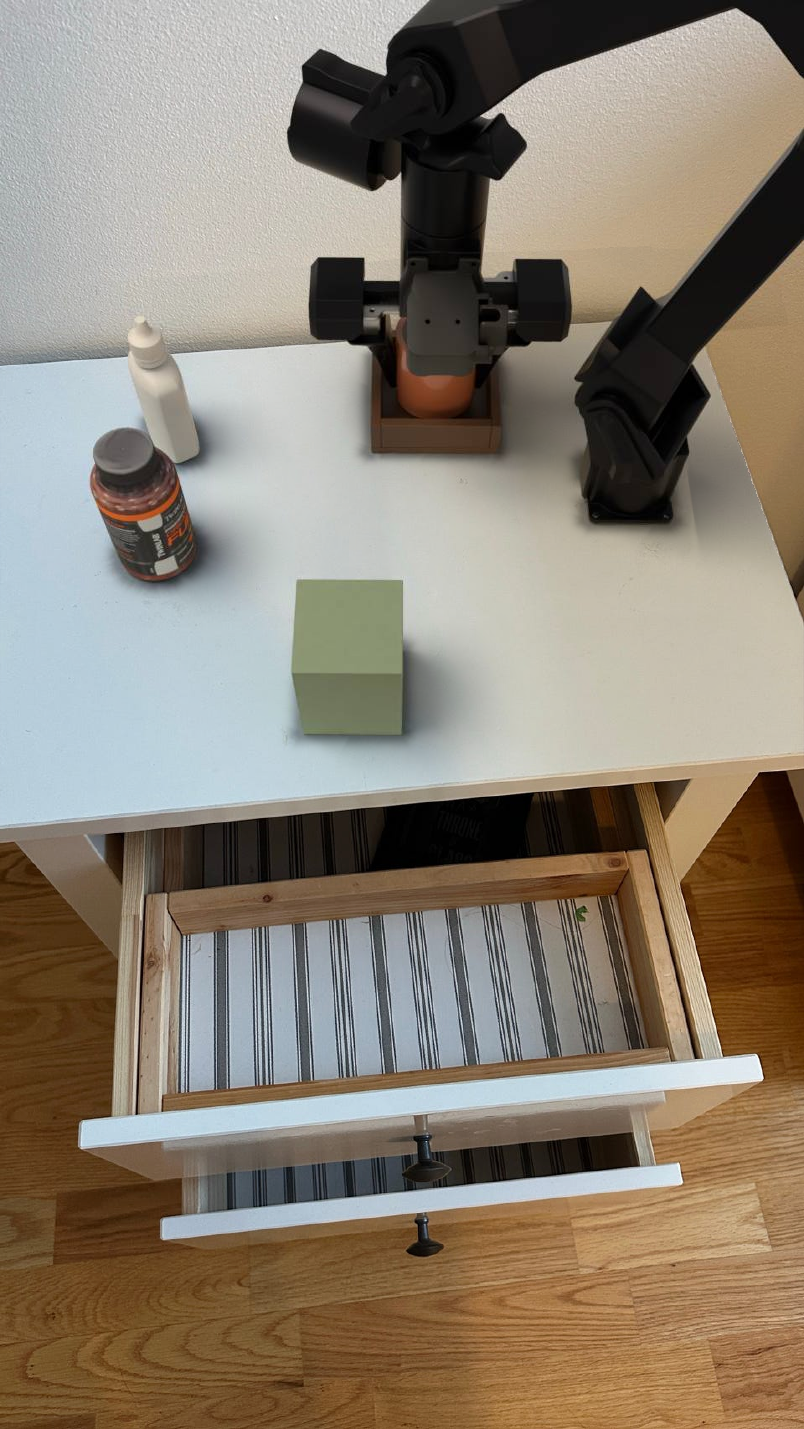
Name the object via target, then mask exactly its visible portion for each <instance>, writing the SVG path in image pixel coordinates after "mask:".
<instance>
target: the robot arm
mask: <svg viewBox="0 0 804 1429" xmlns="http://www.w3.org/2000/svg"><path fill="white" fill-rule="evenodd" d="M735 9H736V10H738V11H740V12H741V13H743V14H745V15H746V16H748V17H749V18H750V19H752V20H754V21H755V22H757V23H758V24H760V25H761V26H762V27H763V29H764V30H765V31H766V33H767V34H768V36H769V37H770V38H771V39H772V41H773V42H774V43H775V46H777V47H778V49H779V50H780V52H781V53H782V54H783V55H784V56H785V58H786V59H787V61H788V62H789V63H790V65H791V66H792V67H793V68H794V70H795V72H797V74H798V75H799V76H800V77H801V78H802V79H803V80H804V0H428V1H427V2H426V3H425V4H424V5H423V6H422V7H421V8H420V9H419V10H418V11H417V12H416V13H415V14H414V15H413V16H412V17H411V18H410V19H409V20H408V21H407V22H406V23H405V24H404V25H403V26H402V27H401V28H400V29H399V30H398V31H396V33H395V34H394V35H393V36H392V37H391V39H390V40H389V41H388V44H387V46H386V48H387V53H386V58H385V70H386V74H385V75H383V74H381V73H378V72H376V71H373V70H370V69H367V68H365V67H362V66H360V65H357V64H354V63H352V62H349V61H346V60H345V59H343V58H342V57H340V56H339V55H337V54H335V53H334V52H331V51H328V50H325V49H322V48H318V49H317V51H315V52H314V53H313V54H312V55H311V56H310V57H309V58H308V59H307V60H306V61H305V62H304V63H303V64H302V65H301V78H302V83H301V84H300V87H299V89H298V91H297V93H296V96H295V99H294V102H293V106H292V109H291V113H290V114H291V115H290V118H289V126H288V127H287V129H286V140H287V145H288V146H287V147H288V150H289V153H290V156H291V158H292V159H293V160H295V162H297V163H299V164H302V165H304V166H305V167H309V168H312V169H314V170H316V171H319V172H322V173H324V174H327V175H329V176H331V177H334V178H336V179H339V180H341V181H344V182H346V183H349V184H351V185H354V186H356V187H359V188H361V189H364V190H366V191H369V192H375V191H377V190H379V189H380V188H382V187H383V186H384V185H385V183H386V182H387V181H390V182H391V181H394V180H395V179H397V177H399V176H400V249H399V250H400V251H399V252H400V254H399V255H400V256H399V257H400V258H399V264H400V265H399V267H400V268H399V273H400V274H399V280H365V278H366V258H365V257H362V256H361V257H360V256H359V257H357V256H356V257H355V256H354V257H351V256H349V257H348V256H317V258H316V259H315V260H313V263H312V264H310V271H309V272H310V275H309V290H308V304H307V305H308V325H309V333H310V336H312V337H313V338H315V339H316V340H317V341H346V342H347V343H348V345H350V346H354V347H355V346H356V347H357V346H358V347H367V349H368V350H369V351H370V353H371V355H372V354H373V355H374V356H375V358H376V360H377V362H378V363H379V365H380V367H381V369H382V371H383V373H384V375H385V377H386V379H387V381H388V383H389V385H390V387H391V388H396V370H395V350H394V343H393V335H392V330H393V329H392V321H391V316H392V315H393V316H397V315H398V317H399V318H401V317H407V323H406V365H407V368H408V370H409V371H410V372H411V373H412V374H413V375H415V376H421V377H426V376H429V375H450V376H455V377H464V376H467V375H469V374H470V373H472V371H473V370H474V368H475V364H477V371H476V381H475V388H476V389H479V388H481V386H482V385H483V383H484V381H485V380H486V378H487V377H488V375H489V374H490V372H491V370H492V369H493V367H494V366H495V364H496V363H497V361H498V360H500V359H501V358H502V356H503V355H504V354H505V353H506V352H507V350H509V349H510V348H526V347H528V346H530V345H531V344H532V343H561V342H563V341H565V339H567V338H568V337H569V332H570V327H571V323H572V316H573V315H572V314H573V302H572V292H571V291H572V290H571V281H570V272H569V267H568V265H567V264H566V263H565V262H564V260H563V259H562V258H514V260H513V261H512V270H507V271H506V270H503V271H501V272H499V273H498V274H497V275H496V276H494V277H483V274H482V270H483V257H484V249H485V248H484V247H485V236H486V226H487V217H488V216H487V215H488V207H489V206H488V204H489V197H490V196H489V195H490V185H491V180H492V181H495V182H499V181H501V180H503V179H504V177H505V176H506V175H507V174H508V172H509V171H510V170H511V169H512V167H513V166H514V165H515V164H516V162H518V160H520V157H521V156H522V155H523V154H524V153H525V152H526V151H527V149H528V143H527V141H526V139H525V138H524V137H523V135H521V134H522V133H520V132H519V130H518V129H516V128H515V127H513V126H512V125H511V124H510V123H509V121H508V119H507V117H506V114H505V113H503V112H499V113H497V114H496V115H495V116H494V117H493V118H486V117H485V116H483V115H485V114H486V113H487V112H489V111H491V110H493V108H494V107H496V106H498V105H499V104H500V103H502V102H503V101H504V100H506V98H509V96H511V95H512V94H514V93H515V92H516V91H518V90H519V89H520V88H522V87H523V86H524V85H526V84H527V83H529V82H530V81H532V80H534V79H535V78H537V77H539V76H541V75H542V74H545V73H546V72H550V71H554V70H557V69H559V68H563V67H565V66H568V65H570V64H574V63H577V62H580V61H583V60H586V59H589V58H592V57H596V56H598V55H601V54H604V53H607V52H610V51H613V50H616V49H619V48H621V47H624V46H628V45H631V44H635V43H637V42H640V41H643V40H646V39H649V38H653V37H654V36H657V35H661V34H664V33H666V32H670V31H673V30H676V29H679V28H681V27H684V26H687V25H691V24H694V23H696V22H700V21H703V20H705V19H710V18H711V17H714V16H718V15H720V14H723V13H727V12H730V11H733V10H735ZM803 241H804V127H803V128H802V129H801V130H800V132H799V133H798V134H797V136H796V137H795V138H794V139H793V141H792V142H791V143H790V144H789V146H788V147H787V148H786V149H785V150H784V152H783V153H782V154H781V155H780V157H779V158H778V159H777V160H776V162H774V164H773V165H772V166H771V168H770V169H769V170H768V172H766V174H765V175H764V176H763V178H761V180H760V181H759V182H758V184H757V185H756V186H755V188H754V189H753V190H752V191H751V192H750V194H748V196H747V197H746V199H745V200H744V201H743V202H742V204H741V205H740V206H739V207H738V208H737V210H736V211H735V212H734V213H733V214H732V215H731V217H730V218H729V220H728V221H727V222H726V223H725V224H724V226H723V227H722V228H721V229H720V230H719V232H718V233H717V234H716V235H715V237H714V238H713V239H712V240H711V241H710V243H709V244H708V245H707V246H706V247H705V249H704V250H703V251H702V253H701V254H700V255H699V257H698V258H697V259H695V261H694V263H693V264H692V265H691V266H690V267H689V269H688V270H687V271H686V273H685V274H684V275H683V276H682V277H681V279H680V280H679V281H678V282H677V283H676V284H675V286H674V288H672V289H671V290H670V291H669V292H668V293H666V294H665V295H662V296H660V297H658V298H655V299H654V297H652V296H651V295H650V294H649V292H647V290H646V289H645V288H644V287H643V286H641V285H640V286H639V287H638V289H637V290H636V292H635V293H633V294H634V295H633V296H632V297H631V299H630V300H629V302H628V303H627V305H626V306H625V308H624V309H623V311H622V312H621V314H620V315H618V316H616V317H614V318H613V319H612V321H611V322H610V324H609V326H608V327H607V329H606V330H605V331H604V333H603V335H602V336H601V337H600V339H599V340H598V342H597V343H596V345H595V346H594V348H593V349H592V350H591V352H590V354H589V355H588V357H587V358H586V359H585V360H584V362H583V363H582V365H581V367H579V370H578V371H577V373H576V374H575V375H574V377H573V380H574V381H575V382H577V383H580V386H579V387H578V388H577V390H576V393H575V395H574V400H573V404H574V405H575V407H576V408H577V410H578V413H579V415H580V417H581V418H582V420H583V423H584V428H585V429H584V430H585V434H586V440H587V441H586V445H585V448H584V454H583V457H582V460H581V464H580V469H579V481H580V492H581V497H582V498H583V499H584V500H585V502H586V511H587V519H588V521H589V522H590V523H591V524H632V525H633V524H634V525H635V524H638V525H639V524H642V525H643V524H644V525H646V524H648V525H653V524H654V525H655V524H656V525H657V524H658V525H661V524H662V525H667V524H671V523H672V521H673V519H674V508H673V502H672V497H673V495H674V493H675V490H676V488H677V485H678V482H679V480H680V478H681V475H682V473H683V470H684V468H685V465H686V463H687V460H688V458H689V455H690V447H689V441H688V436H689V434H690V432H692V429H693V428H694V426H695V424H696V422H697V421H698V419H699V417H700V416H701V414H702V412H703V410H704V409H705V407H706V406H707V404H708V402H709V401H710V399H711V392H710V391H709V389H708V388H707V386H706V384H705V382H704V380H703V379H702V377H701V374H700V373H699V372H698V370H697V369H696V367H695V365H694V362H695V359H696V358H697V356H698V355H699V353H700V352H701V351H703V349H704V348H705V347H706V346H707V345H708V343H709V342H710V341H711V340H712V339H713V338H714V337H715V336H716V335H717V334H718V333H719V332H720V331H721V330H722V329H723V327H724V326H726V324H727V323H728V322H729V321H730V320H731V319H732V318H733V317H734V315H736V314H737V312H738V311H739V310H740V309H741V308H742V307H743V306H744V305H745V304H746V303H747V302H748V301H749V300H750V298H751V297H752V296H753V295H754V294H755V293H756V292H757V291H758V290H759V289H760V288H761V287H762V286H763V285H764V284H765V283H766V281H767V280H768V279H770V277H771V276H772V275H773V274H774V273H775V272H776V270H778V269H779V267H780V266H781V265H782V264H783V263H784V262H785V261H786V260H787V259H788V258H789V257H790V255H792V253H793V252H795V250H796V249H798V247H799V246H800V245H801V244H802V242H803Z"/></svg>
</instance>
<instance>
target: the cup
mask: <svg viewBox="0 0 804 1429" xmlns="http://www.w3.org/2000/svg"><path fill="white" fill-rule="evenodd" d="M406 323H407V317H399V320H398V321H397V323H396V326H395V330H396V332H395V370H396V388H395V391H396V397H397V399H398V402H399V403H400V405H401V406H402V407H403V408H404V409H405V410H406V411H407V412H409V413H410V414H412V415H414V416H416V417H418V418H421V419H450V418H453V417H456V416H458V415H459V414H461V413H462V412H464V411H465V410H466V409H467V408H468V407H469V406H470V404H471V402H472V400H473V397H474V391H475V381H476V371H477V364H475V368H474V370H473V371H472V373H470V374H469V375H467V376H464V377H455V376H450V375H429V376H426V377H421V376H415V375H413V374H412V373H411V372H410V371H409V370H408V368H407V365H406Z"/></svg>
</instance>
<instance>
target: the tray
mask: <svg viewBox="0 0 804 1429" xmlns="http://www.w3.org/2000/svg"><path fill="white" fill-rule="evenodd" d="M395 332H396V329H392V335H393V343H394V350H395ZM499 360H500V359H499ZM499 360H498V361H497V363H496V364H495V366H494V367H493V369H492V370H491V372H490V374H489V375H488V377H487V378H486V380H485V381H484V383H483V385H482V386H481V388H479V389H476V388H475V391H474V397H473V400H472V402H471V404H470V406H469V407H468V408H467V409H466V410H465V411H464V412H462V413H461V414H459V415H458V416H456V417H453V418H450V419H421V418H418V417H416V416H414V415H412V414H410V413H409V412H407V411H406V410H405V409H404V408H403V407H402V406H401V405H400V403H399V402H398V399H397V397H396V391H395V388H391V387H390V385H389V383H388V381H387V379H386V377H385V375H384V373H383V371H382V369H381V367H380V365H379V363H378V362H377V360H376V358H375V356H374V355H373V354H372V353H371V385H370V452H371V453H373V454H375V453H376V454H377V453H381V454H383V453H384V454H385V453H386V454H387V453H389V454H390V453H393V454H415V453H416V454H499V452H500V445H501V437H502V430H503V416H502V398H501V380H500V364H499Z"/></svg>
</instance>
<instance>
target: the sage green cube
mask: <svg viewBox="0 0 804 1429" xmlns="http://www.w3.org/2000/svg"><path fill="white" fill-rule="evenodd" d="M295 582H296V583H295V598H294V599H295V600H294V616H293V634H292V651H291V666H290V667H291V669H290V674H291V679H292V683H293V688H294V694H295V699H296V704H297V710H298V714H299V720H300V724H301V729H302V733H303V735H355V736H356V735H360V736H361V735H363V736H365V735H367V736H368V735H375V736H377V735H378V736H383V735H386V736H391V735H392V736H393V735H394V736H400V735H401V736H402V734H403V688H404V686H403V685H404V684H403V683H404V677H403V676H404V580H403V579H313V578H312V579H307V578H305V579H304V578H303V579H300V578H299V579H296V581H295Z"/></svg>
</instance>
